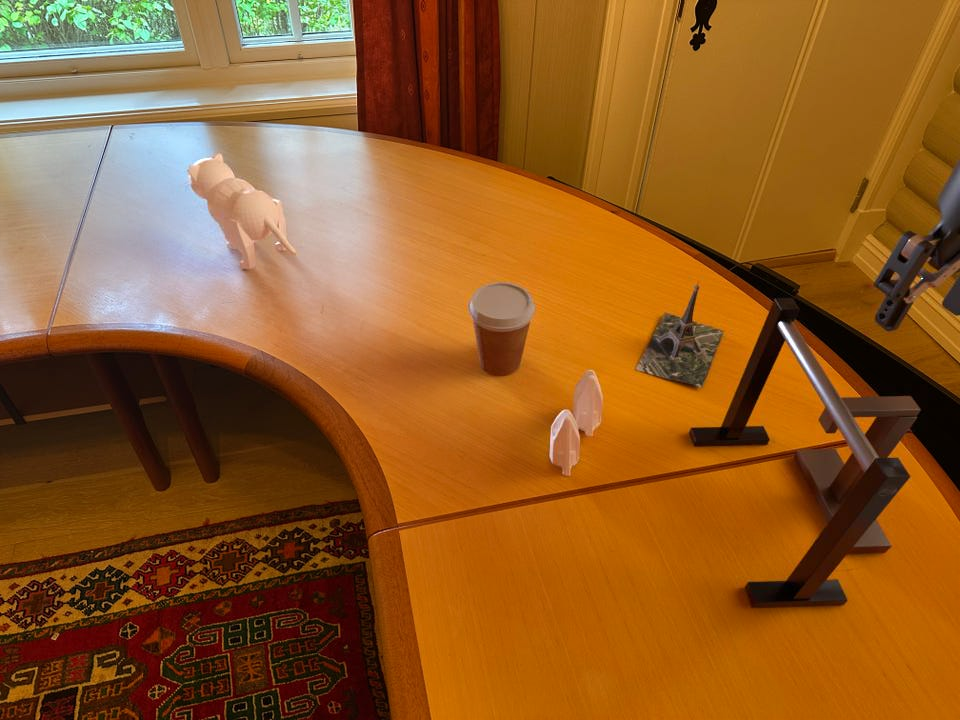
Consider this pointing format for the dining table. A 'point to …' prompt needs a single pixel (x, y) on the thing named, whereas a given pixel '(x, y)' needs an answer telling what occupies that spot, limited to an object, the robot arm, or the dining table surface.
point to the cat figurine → (238, 208)
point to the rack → (880, 473)
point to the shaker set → (576, 422)
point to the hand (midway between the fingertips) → (918, 318)
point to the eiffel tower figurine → (681, 348)
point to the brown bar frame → (837, 478)
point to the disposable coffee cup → (501, 325)
